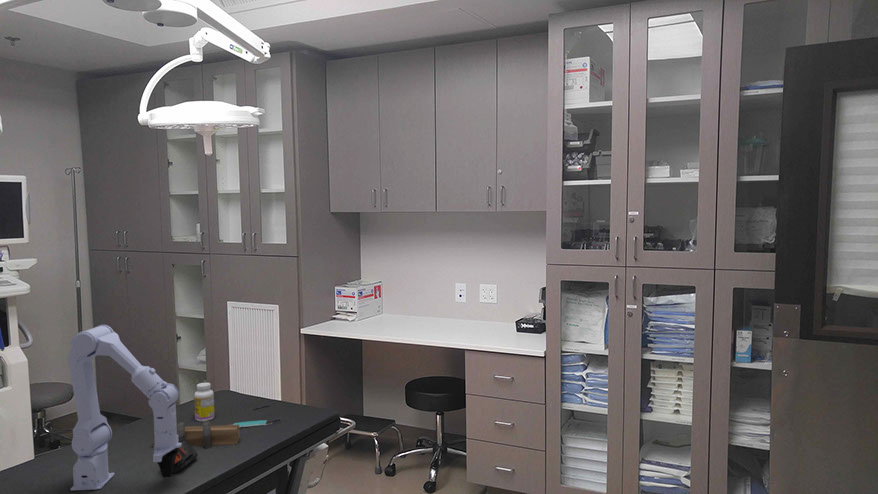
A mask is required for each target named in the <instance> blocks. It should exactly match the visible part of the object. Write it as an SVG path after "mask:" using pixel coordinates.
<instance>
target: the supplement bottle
mask: <svg viewBox="0 0 878 494" xmlns="http://www.w3.org/2000/svg"><path fill="white" fill-rule="evenodd" d="M211 387H212V384H211V383H210V382H200V383H198V384H196V389H197V390H196V391H195V392H194V394H193V397H194V398H193V399H194V400H193V401H194V419H195V421H197V422H199V423H200V422H202V423H203V422H206V421H211V420H213V419H214V418H215V396H214V395H215V394H214V391H213V390H212V389H211Z"/></svg>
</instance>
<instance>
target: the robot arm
mask: <svg viewBox="0 0 878 494" xmlns="http://www.w3.org/2000/svg"><path fill="white" fill-rule="evenodd" d="M70 345H71V348H70V350H69V353H68V358H67V361H68V368H69V372H70V373H69V374H70V379H71V384H72V390H73V392H72V393H73V396H74V402H75V409H76V415H77V422H76V424H75V426H74V427H73V429H72V434H73V435H72V440H71V448H72V450H73V452H74V453H75V454H76V456H77V461H76V462H75V463H74V465H73V468H72V476H73V477H72V478H73V479H72V481H73V485H72V487H70V489H69V490H70V491H72V492H73V491H91V490H93V491H95V490H101V489H102V488H103V487H104V486H105V485H106V484H107V483H108V482H109V481H110V480H111V479H112V478H113V477H114V476H115V472H109V470H110V469H109V455H108V454H109V452H108V451H109V450H108V446H109V441H110V440H111V439H112V436H113V431H112V427H111V426H110V425H109V423H108V418H107V417H106V416H104V415H103V414H101V410H100V404H99V403H100V402H99V398H98V392H97V385H96V379H95V378H96V377H95V374H94V373H95V372H94V367H93V360H94V358H96V357H97V356H105V357H106V356H107V357H108V356H109V357H110V358H112V360H114V362H116V363H117V364H118V365H119V366H120V367H122V368H123V369H124V370H125V371H127V372H128V373H129V374H130V375H131V382H132V383H133V384H134V385H135V386H136V387H137V388H138V390H140V391H141V392H142V393H143V394H144V395H145V396H146V397H147V398H148V402H147V403H148V405H149V407H150V408H151V409H152V413H153V429H154V431H153V432H154V436H155V446H154V445H153V454H152V462H153V463H157V465H158V467H159V470H160V474H161V476H162V478H163V479H165V478H171V477H172V476H173V473H174V472H173V468H174V463H175V459H176V456H177V453H178V451H179V447H181V445H182V443H178V441H179V440H178V435H177V423H178V422H177V406H176V404H177V403H176V402H177V401H178V400H179V397H180V392H179V389H178V388H177V386H176V385H175V384H173V383H168V382H167V381H164V379H162V378H161V377H160V375H158V373H156V372H157V371H156V369H155V368H154V367H151V366H149V365H147V366H145V365H142V364H141V363H140V362H139V361H138V359H137V358H135V356H134V355H133V354H132V353H131V351H130V350H129V349H128V348H127V346H125V345H124V344H123V343H122V341H121V340H120V335H119V334H118V333H116V331H114V330H113V328H112V327H110V326H109V325H107V324H99V325H97V326H95V327H93V328H89V329H87V330H83V331H80V332H78V333H77V334H76V335H74V336H73V338H72V339H70Z"/></svg>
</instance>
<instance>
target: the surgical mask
mask: <svg viewBox="0 0 878 494" xmlns="http://www.w3.org/2000/svg"><path fill="white" fill-rule="evenodd" d="M268 407H269V408H270V405H265V406H262V407H256V408H253V411H256V410H260V409H264V408H268ZM267 421H268V420H265V418H264V419H261V420H251V421H248V420H247V421H241V422H235V423H233V424H231V425H239V429H240V428H241V429H242V428H250V427H261V426H267V425H271V424H272V423H275V422H279V421H281V419H277V420H276V419H275V420H272V421H269V422H267Z"/></svg>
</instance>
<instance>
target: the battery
mask: <svg viewBox="0 0 878 494" xmlns="http://www.w3.org/2000/svg"><path fill="white" fill-rule="evenodd" d="M178 443H182V445H181V447H179V451H178V453H177V456H176V459H175V463H174V468H173V473H179V471H181V470H182V469H183V468H185V467H186V466H188V464H190V463H192V462H193V461H194V460H195V459H196V458H197V457H198V456H199V455H198V453H197V451H196V449H195V448H194V446H191V445H190V444H189V443H188V442H187V440H186V439H185V438H182V439H180V440H179V441H178Z"/></svg>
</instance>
